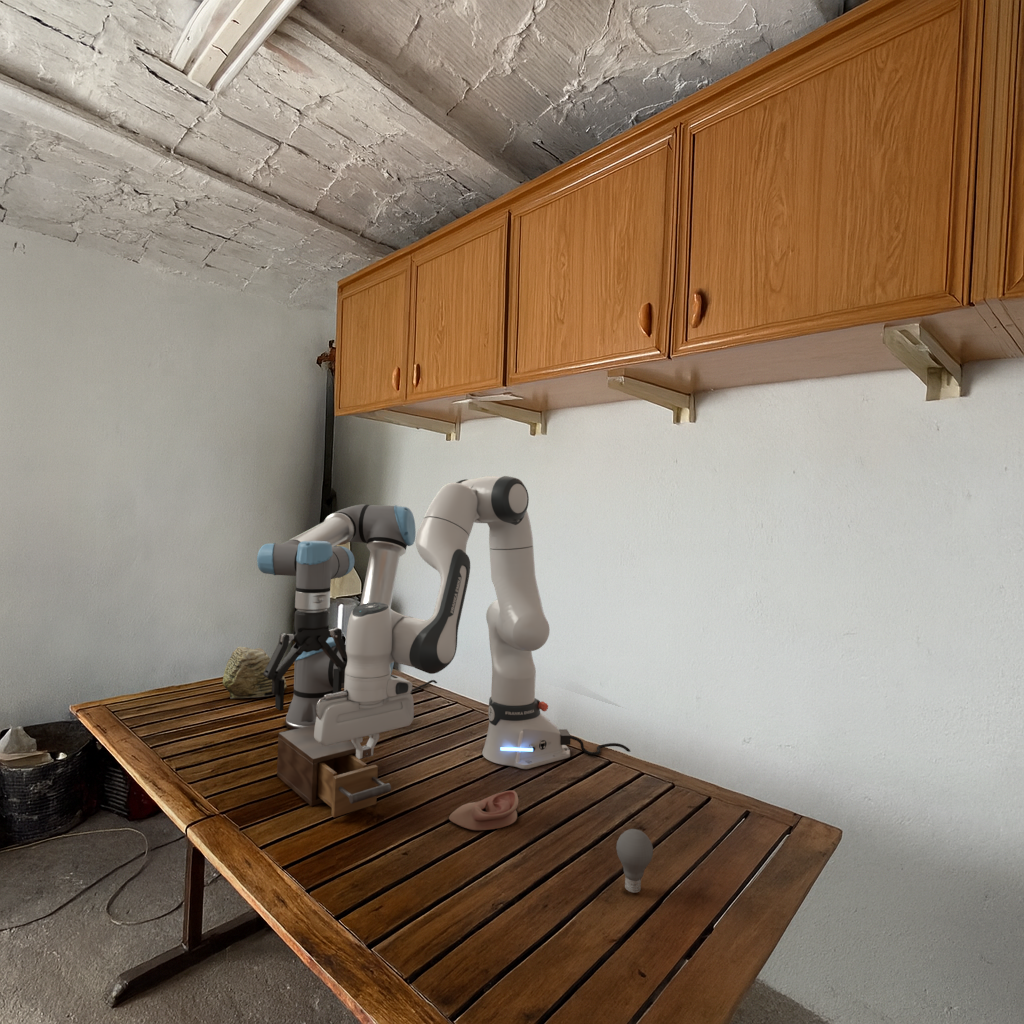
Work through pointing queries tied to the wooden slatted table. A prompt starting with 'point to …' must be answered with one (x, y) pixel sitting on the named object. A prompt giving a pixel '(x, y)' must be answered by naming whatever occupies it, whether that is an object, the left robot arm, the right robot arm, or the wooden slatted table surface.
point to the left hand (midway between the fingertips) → (308, 703)
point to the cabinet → (305, 760)
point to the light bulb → (634, 857)
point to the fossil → (248, 674)
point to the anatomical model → (487, 812)
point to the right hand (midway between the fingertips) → (364, 756)
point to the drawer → (348, 784)
